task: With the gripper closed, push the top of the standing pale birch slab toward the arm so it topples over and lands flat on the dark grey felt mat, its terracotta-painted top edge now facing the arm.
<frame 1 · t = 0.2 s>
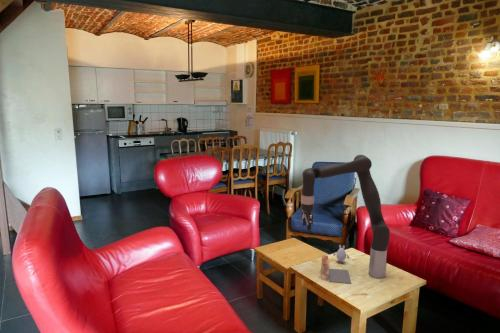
hand: (306, 227, 217), 28 cm above the table, fingers open, 8 cm apart
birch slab: (324, 275, 217), on the table
felt mat: (338, 276, 216), on the table
toy figure: (340, 262, 234), on the table
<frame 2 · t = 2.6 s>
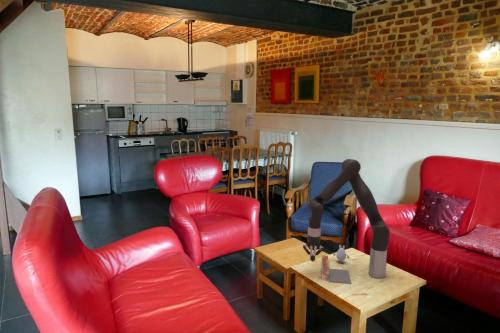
hand: (312, 260, 216), 8 cm above the table, fingers closed
nothing on the table moved.
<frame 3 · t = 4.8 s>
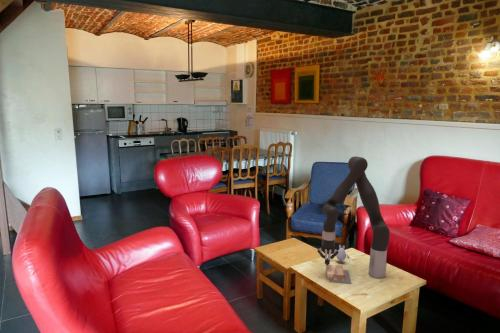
hand: (327, 264, 215), 7 cm above the table, fingers closed
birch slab: (326, 271, 216), point 2 cm above the table, tilted 90°, touching felt mat
everything else where it was.
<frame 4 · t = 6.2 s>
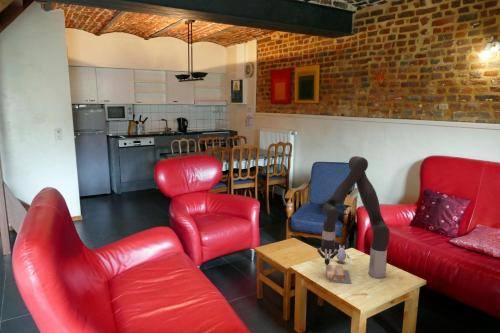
hand: (326, 264, 215), 7 cm above the table, fingers closed
nothing on the table moved.
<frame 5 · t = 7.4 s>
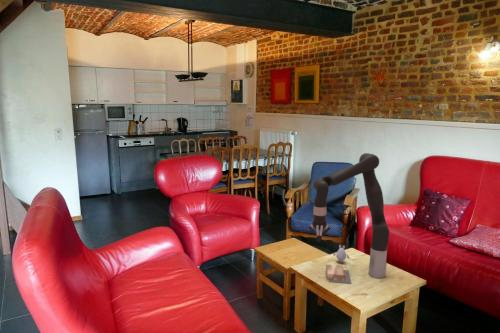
hand: (318, 241, 213), 22 cm above the table, fingers closed
nothing on the table moved.
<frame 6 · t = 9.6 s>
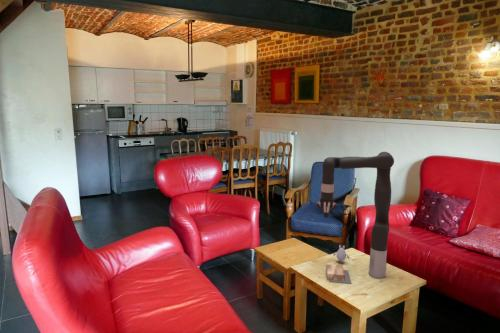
hand: (325, 217, 220), 33 cm above the table, fingers closed
nothing on the table moved.
at the end: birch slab tilted 90°; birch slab inside the target area (6.9 cm from its centre), point 2.3 cm above the table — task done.
